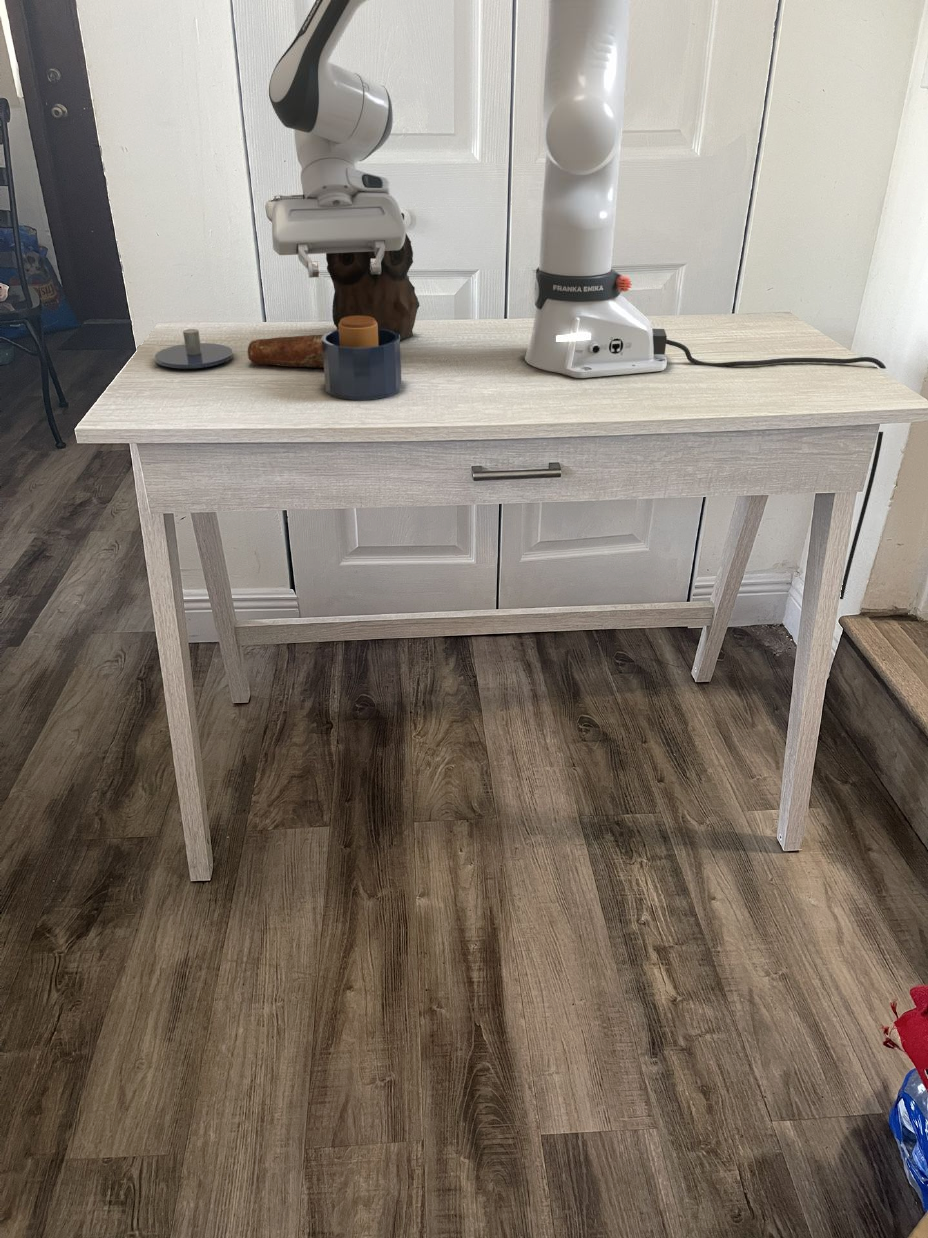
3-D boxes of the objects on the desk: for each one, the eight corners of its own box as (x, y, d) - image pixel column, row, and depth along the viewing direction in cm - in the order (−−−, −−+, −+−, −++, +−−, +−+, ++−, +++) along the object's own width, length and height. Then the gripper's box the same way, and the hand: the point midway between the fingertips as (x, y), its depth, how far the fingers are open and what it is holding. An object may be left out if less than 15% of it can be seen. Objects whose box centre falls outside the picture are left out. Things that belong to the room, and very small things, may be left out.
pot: (400, 375, 146) (398, 326, 142) (402, 399, 136) (400, 347, 132) (327, 377, 145) (323, 327, 141) (324, 401, 135) (320, 348, 131)
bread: (361, 374, 146) (359, 338, 143) (244, 368, 148) (239, 332, 146) (371, 362, 151) (369, 327, 148) (258, 356, 154) (254, 322, 151)
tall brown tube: (379, 378, 143) (377, 314, 138) (380, 390, 138) (377, 324, 133) (342, 379, 142) (338, 315, 137) (342, 391, 137) (337, 325, 132)
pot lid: (238, 349, 158) (234, 319, 155) (228, 371, 147) (224, 340, 145) (163, 350, 157) (158, 321, 154) (149, 373, 146) (143, 342, 144)
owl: (423, 334, 165) (419, 211, 154) (380, 351, 155) (373, 221, 145) (364, 326, 170) (357, 206, 160) (320, 341, 161) (309, 215, 151)
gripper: (263, 182, 140) (275, 264, 137) (398, 178, 144) (413, 257, 141) (264, 209, 146) (275, 289, 143) (394, 205, 150) (408, 282, 147)
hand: (345, 273), depth 142 cm, fingers open, 8 cm apart
